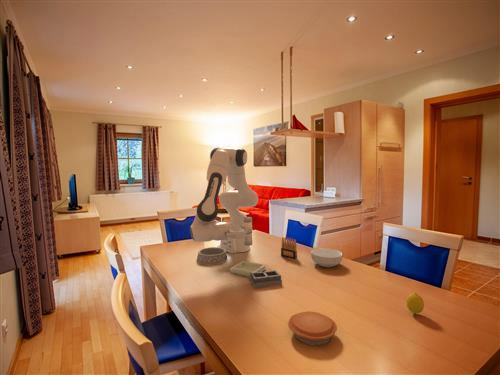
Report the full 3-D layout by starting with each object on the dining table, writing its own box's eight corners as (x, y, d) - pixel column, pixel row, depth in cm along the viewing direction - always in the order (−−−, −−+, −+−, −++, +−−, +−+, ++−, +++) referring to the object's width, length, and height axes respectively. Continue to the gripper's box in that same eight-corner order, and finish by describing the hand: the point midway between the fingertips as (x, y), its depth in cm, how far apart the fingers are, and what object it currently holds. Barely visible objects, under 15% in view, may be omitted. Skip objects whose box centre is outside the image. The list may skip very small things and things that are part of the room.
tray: (230, 273, 145) (230, 267, 145) (242, 265, 156) (242, 260, 155) (254, 278, 138) (254, 272, 138) (265, 270, 149) (265, 265, 148)
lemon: (407, 308, 107) (408, 288, 107) (424, 313, 104) (425, 292, 103) (404, 314, 103) (405, 293, 102) (422, 319, 99) (423, 297, 99)
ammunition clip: (297, 258, 166) (297, 238, 165) (295, 259, 164) (295, 239, 163) (282, 255, 173) (282, 236, 172) (280, 255, 172) (280, 236, 171)
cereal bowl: (344, 271, 145) (344, 258, 145) (311, 269, 149) (311, 256, 148) (340, 260, 162) (340, 248, 161) (310, 259, 165) (310, 247, 165)
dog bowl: (229, 255, 176) (228, 246, 175) (223, 265, 158) (223, 256, 157) (202, 254, 178) (202, 246, 177) (193, 264, 159) (193, 255, 159)
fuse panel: (254, 288, 127) (254, 279, 127) (249, 280, 136) (249, 272, 135) (281, 284, 130) (281, 276, 130) (275, 277, 139) (275, 269, 139)
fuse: (242, 244, 145) (242, 218, 144) (246, 242, 148) (246, 216, 147) (249, 246, 143) (249, 218, 141) (253, 243, 146) (253, 217, 145)
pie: (328, 320, 100) (328, 307, 100) (344, 349, 85) (344, 333, 84) (284, 322, 100) (284, 308, 99) (292, 351, 84) (292, 335, 84)
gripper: (226, 229, 131) (255, 227, 135) (219, 221, 151) (244, 219, 155) (227, 242, 132) (255, 240, 135) (220, 232, 152) (245, 230, 155)
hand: (249, 229), depth 145 cm, fingers closed on fuse, 4 cm apart
